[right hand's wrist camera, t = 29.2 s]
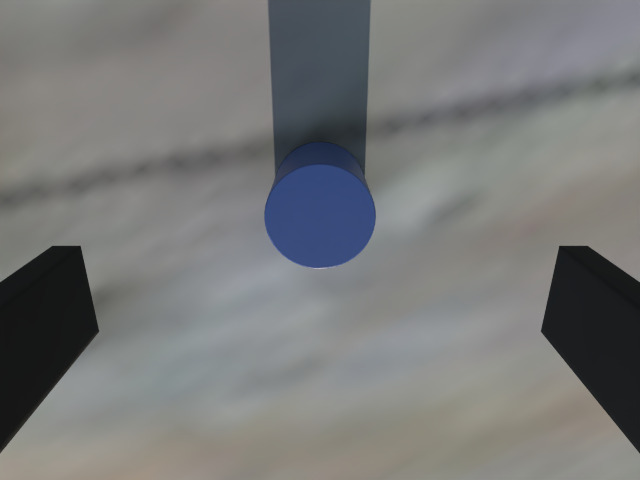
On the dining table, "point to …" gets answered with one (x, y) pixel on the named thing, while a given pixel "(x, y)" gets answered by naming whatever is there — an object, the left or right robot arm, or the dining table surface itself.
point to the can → (320, 207)
